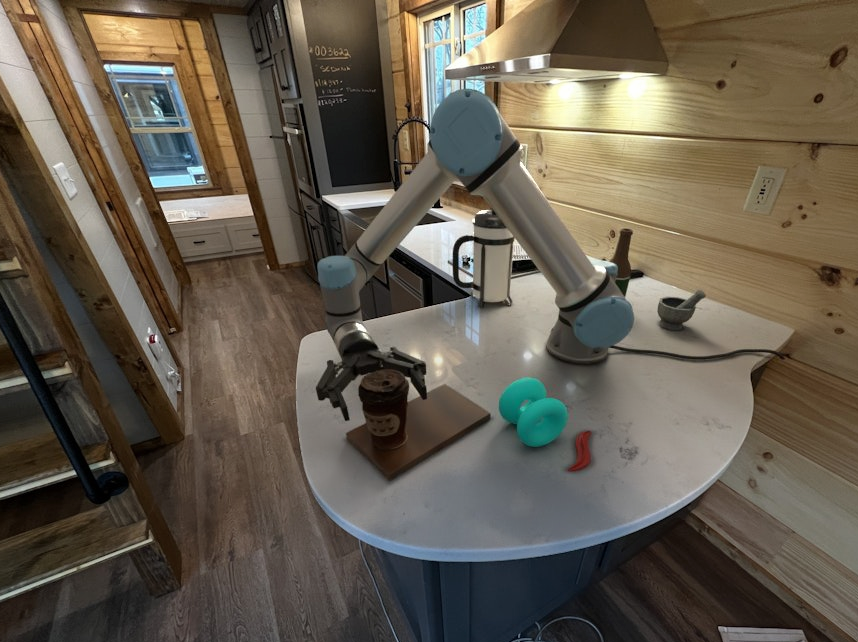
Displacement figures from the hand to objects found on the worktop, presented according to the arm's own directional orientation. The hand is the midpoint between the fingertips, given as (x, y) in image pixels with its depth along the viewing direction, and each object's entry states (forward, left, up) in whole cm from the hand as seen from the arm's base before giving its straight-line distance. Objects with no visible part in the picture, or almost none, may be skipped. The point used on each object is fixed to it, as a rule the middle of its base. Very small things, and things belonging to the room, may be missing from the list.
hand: (387, 403), depth 68 cm
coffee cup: (+1, 0, -9) cm, 9 cm away
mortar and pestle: (-53, -73, -10) cm, 90 cm away
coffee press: (+3, -72, -10) cm, 72 cm away
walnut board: (-3, -7, -10) cm, 12 cm away
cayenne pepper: (-33, -11, -10) cm, 36 cm away
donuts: (-23, -13, -10) cm, 28 cm away
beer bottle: (-35, -80, -10) cm, 87 cm away
